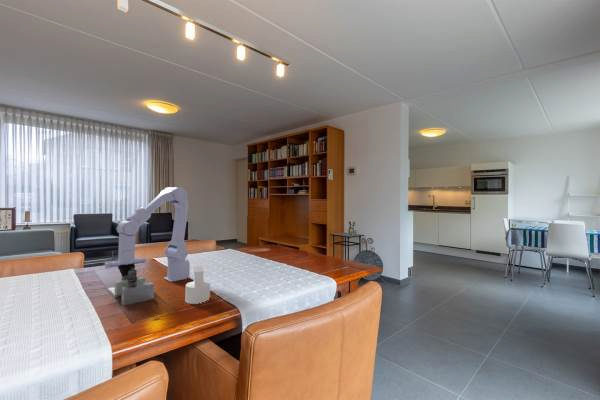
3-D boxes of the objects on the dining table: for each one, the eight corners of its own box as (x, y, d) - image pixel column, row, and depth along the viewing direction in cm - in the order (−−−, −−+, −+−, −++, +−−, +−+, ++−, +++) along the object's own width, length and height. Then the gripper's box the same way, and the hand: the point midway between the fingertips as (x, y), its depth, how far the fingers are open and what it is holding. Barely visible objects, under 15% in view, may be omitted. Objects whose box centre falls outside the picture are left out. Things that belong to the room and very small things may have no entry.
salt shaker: (132, 301, 102) (133, 269, 102) (118, 300, 103) (119, 268, 103) (143, 296, 108) (144, 265, 108) (130, 294, 109) (131, 264, 109)
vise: (135, 285, 120) (135, 272, 120) (153, 298, 105) (154, 283, 105) (108, 290, 113) (108, 276, 113) (123, 305, 98) (124, 289, 98)
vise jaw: (140, 286, 115) (141, 272, 115) (145, 289, 112) (145, 275, 112) (112, 291, 108) (113, 277, 108) (116, 295, 104) (117, 280, 104)
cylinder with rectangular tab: (185, 296, 109) (186, 266, 109) (208, 294, 112) (209, 265, 112) (185, 305, 100) (186, 272, 100) (210, 302, 104) (211, 270, 104)
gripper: (142, 246, 121) (141, 277, 121) (103, 250, 110) (102, 284, 110) (148, 249, 116) (147, 280, 116) (107, 253, 106) (106, 288, 106)
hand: (125, 282), depth 113 cm, fingers closed, pressing on vise jaw
